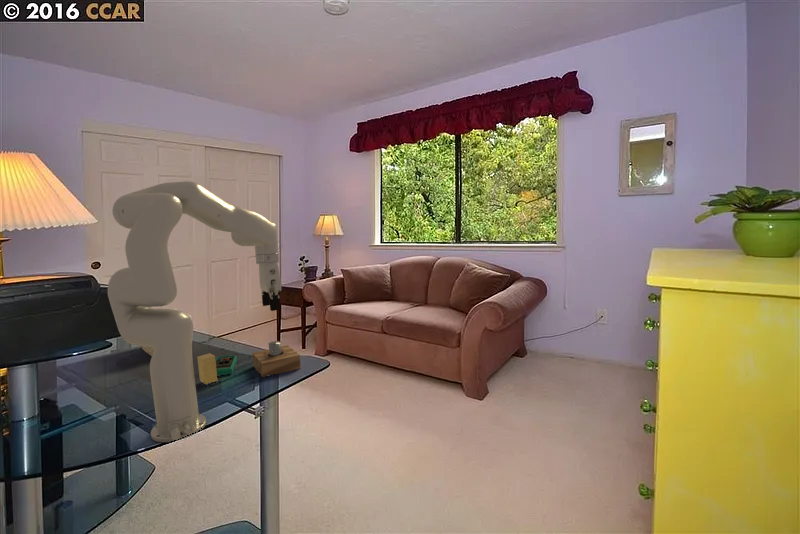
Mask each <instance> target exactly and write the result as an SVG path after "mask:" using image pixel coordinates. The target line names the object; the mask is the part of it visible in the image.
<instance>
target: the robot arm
mask: <svg viewBox="0 0 800 534" xmlns="http://www.w3.org/2000/svg"><path fill="white" fill-rule="evenodd" d="M111 211H112V216H113V218H114V220H115V222H116V223H117V224H118V225H120V226H121V227H123V228H125V229H130V230H129V232H128V235H127V237H126V240H125V246H124V250H125V256H126V261H127V265H128V267H124V268H121V269H118V270H117V271H115V272H114V273H112V276H110V278H109V281H108V284H107V298H108V300H109V304H110V308H111V311H112V314H113V316H114V320H115V323H116V327H117V330H118V332H119V334H120V336H121V338H122V340H124V341H125V342H126V343H128V344H130V345H132V346H139V347H141V346H148V347H154V353H153V356H151V358H150V362H149V376H150V381H151V382H150V383H151V389H152V398H153V405H154V413H155V420H156V421H155V422H156V424H155V425H154V426H153V427H152V428H151V430H150V437H151V439H152V441H155V442H157V443H172V442H171V441H173V442H177V441H181V440H185V439H187V438H190V437H192V436H194V435H196V434H198V433H199V432H200V431H202V430H203V429H204V428H205V426H207V418H206V416H205V415H203V414H201V413H200V412H199V406H198V397H197V388H196V380H195V370H194V361H193V337H194V323H193V319H192V317H191V318H190V317H189V316H188V315H189V314H188V313H186V312H184V311H183V310H180V311H179V309H177V310H174V309H171V308H159V307H165V306H168V305H169V304H171V303H173V302H174V301H175V299H176V297H177V296H178V295H177V294H178V291H177V290H178V288H177V284H176V283H177V282H176V278H175V274H174V271H173V267H172V263H171V259H170V254H169V250H168V242H169V238H170V236H171V234H172V232H173V230H174V229H175V227H176V226H177V225H178V223H179V222H180V220H181V218H182V215H187V216H189V217H191V218H193V219H195V220H197V221H199V222H200V223H202V224H204V225H205V226H207V227H209V228H211V229H213V230H216V231H222V232H224V233H225V232H227V233H230V236H231V240H232V241H233V243H234V244H236V245H238V246H241V247H254V253H255V264H256V265H258V271H259V273H258V275H259V276H258V277H259V286H260V290H261V299H262V300H261V301H262V306H263V307H267V306H269V310H270V311H271V312H273V311H275V312H276V311H279V310H281V303H280V301H281V300H280V295H279V294H280V292H281V291H282V283H281V282H282V281H281V275H280V267H279V263H280V255H279V245H278V244H279V243H278V230H277V228H278V227H277V225H276V223H274V222H271V221H269V220H268V219H267V218H266V217H264V216H263V215H261V214H259V213H256V212H255V211H251V210H250V209H249V210H248V209H246V208H243V207H240V206H237V205H234V204H230V203H228V202H227V201H225V200H224V199H222V198H221V197H219V196H217V195H216V194H214V193H213V192H211V191H210V190H208V189H207V188H206V187H204V186H203V185H201V184H199V183H197V182H195V181H189V180H188V181H187V180H186V181H172V182H171V181H170V182H163V183H159V184H156V185H155V184H154V185H153V186H149V187H146V188H143V189H140V190H137V191H133V192H130V193H126V194H124V195H122V196H119V197H118V198H117V199H116V200H115V202H114V203H113V206H112V210H111ZM153 307H157V308H153ZM187 314H188V315H187ZM191 319H192V320H191ZM201 428H202V429H201ZM199 430H200V431H199ZM198 431H199V432H198ZM195 432H196V433H195ZM192 433H194V434H192ZM190 434H191V435H190ZM187 435H189V436H187ZM185 436H186V437H185ZM182 437H184V438H182ZM180 438H181V439H180ZM178 439H179V440H178ZM174 440H176V441H174Z"/></svg>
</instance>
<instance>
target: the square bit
mask: <svg viewBox="0 0 800 534" xmlns="http://www.w3.org/2000/svg"><path fill="white" fill-rule="evenodd" d="M196 357H197V366H198V375H199V382H200V381H201V382H203V383H204V384H208V383H211V382H215V381H218V377H217V370H216V361H215V359H216V355H214V354H212V353H210V352H209V353H206V354H202V355H199V356H196Z"/></svg>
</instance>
